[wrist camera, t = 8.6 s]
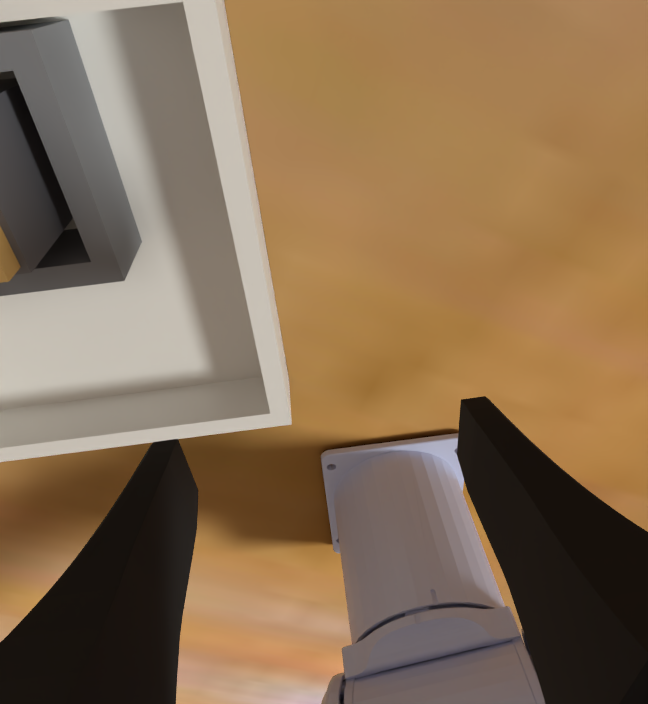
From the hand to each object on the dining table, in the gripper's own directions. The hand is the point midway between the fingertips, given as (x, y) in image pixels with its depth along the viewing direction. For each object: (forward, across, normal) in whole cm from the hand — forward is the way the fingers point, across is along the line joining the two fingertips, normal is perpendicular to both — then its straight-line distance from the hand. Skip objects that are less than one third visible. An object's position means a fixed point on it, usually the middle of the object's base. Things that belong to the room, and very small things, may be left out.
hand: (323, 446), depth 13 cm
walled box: (+10, +9, -2) cm, 14 cm away
